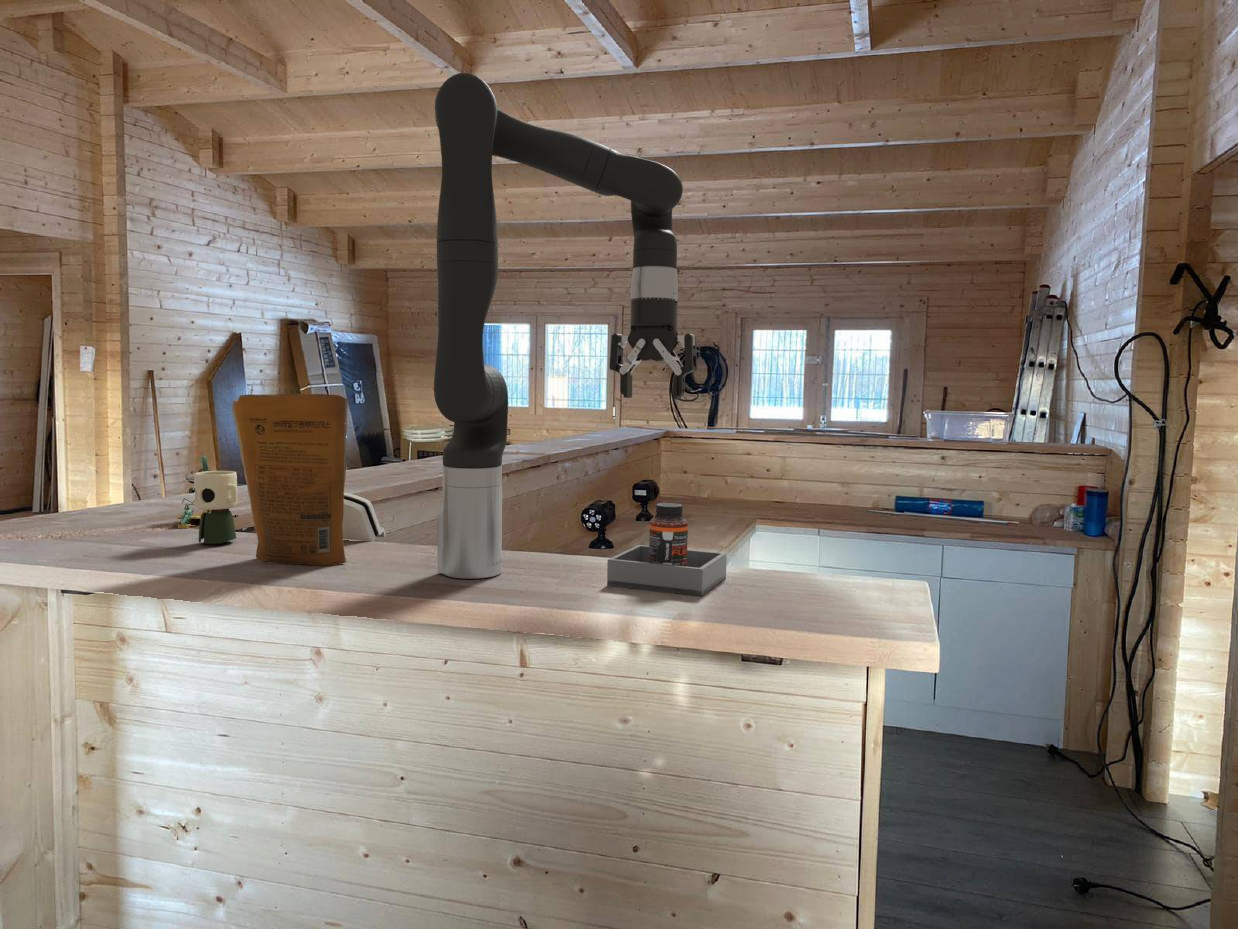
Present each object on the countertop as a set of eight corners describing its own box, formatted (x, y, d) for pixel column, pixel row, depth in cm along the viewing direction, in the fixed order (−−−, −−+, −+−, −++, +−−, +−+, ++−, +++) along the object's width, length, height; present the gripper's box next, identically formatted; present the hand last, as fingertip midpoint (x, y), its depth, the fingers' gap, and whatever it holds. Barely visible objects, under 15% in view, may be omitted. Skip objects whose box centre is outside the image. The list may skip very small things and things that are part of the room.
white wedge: (387, 536, 170) (377, 490, 166) (374, 549, 166) (362, 502, 162) (315, 530, 176) (303, 485, 171) (301, 542, 171) (288, 496, 167)
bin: (607, 585, 134) (607, 559, 133) (638, 568, 146) (638, 544, 145) (701, 596, 128) (702, 569, 128) (726, 578, 140) (726, 553, 140)
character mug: (180, 543, 160) (178, 472, 159) (215, 537, 166) (213, 469, 165) (219, 550, 155) (217, 476, 154) (254, 543, 161) (252, 473, 160)
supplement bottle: (675, 582, 133) (677, 508, 131) (641, 577, 136) (642, 505, 134) (693, 575, 138) (694, 503, 137) (659, 570, 141) (661, 500, 140)
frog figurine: (149, 527, 177) (153, 453, 177) (218, 523, 194) (221, 456, 194) (186, 530, 173) (190, 455, 174) (253, 526, 190) (256, 457, 191)
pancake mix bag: (340, 570, 141) (337, 394, 138) (233, 563, 145) (228, 392, 142) (360, 561, 148) (358, 394, 145) (257, 555, 151) (253, 391, 148)
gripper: (604, 296, 141) (602, 397, 142) (689, 294, 135) (686, 400, 137) (622, 300, 148) (620, 397, 149) (703, 298, 142) (700, 399, 144)
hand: (652, 398), depth 143 cm, fingers open, 8 cm apart
